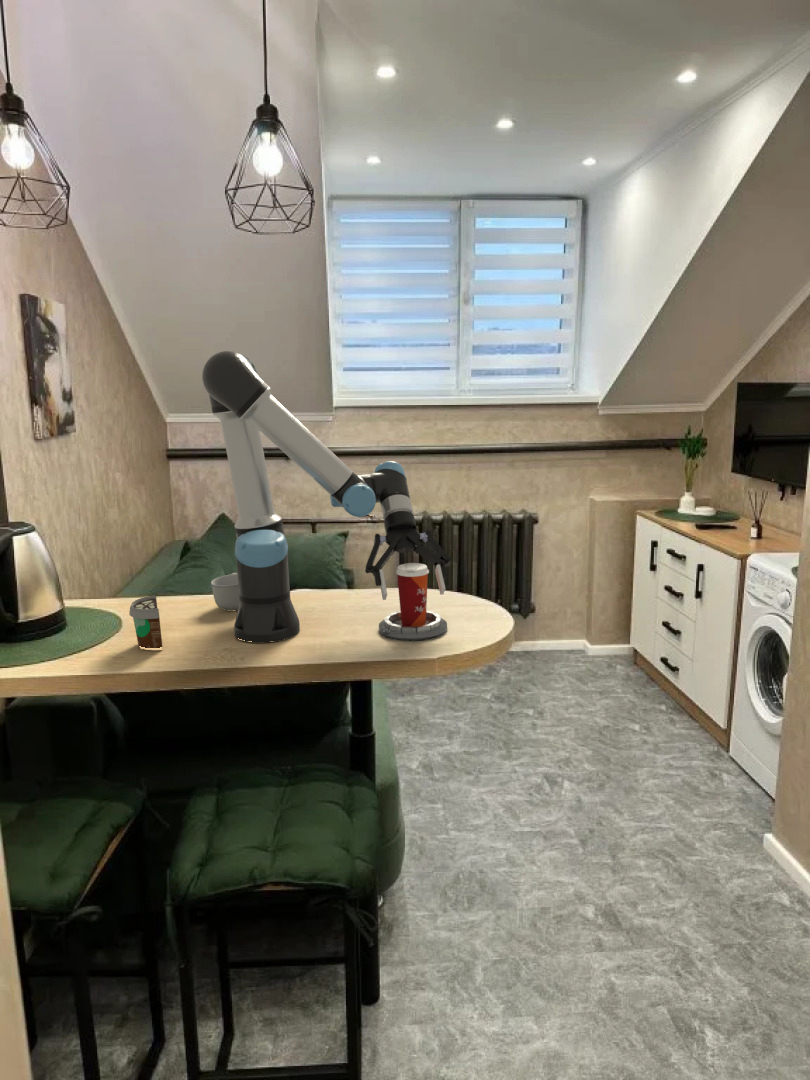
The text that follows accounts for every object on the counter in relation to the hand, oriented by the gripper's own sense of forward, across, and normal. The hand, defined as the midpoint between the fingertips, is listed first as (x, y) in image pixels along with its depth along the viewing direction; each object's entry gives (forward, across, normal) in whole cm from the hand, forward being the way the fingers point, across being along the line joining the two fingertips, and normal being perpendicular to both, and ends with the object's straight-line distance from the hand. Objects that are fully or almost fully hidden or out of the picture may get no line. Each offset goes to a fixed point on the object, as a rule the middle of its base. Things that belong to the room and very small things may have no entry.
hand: (414, 594), depth 172 cm
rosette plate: (+5, 0, -8) cm, 9 cm away
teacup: (-18, +41, -31) cm, 54 cm away
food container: (0, +60, -13) cm, 62 cm away
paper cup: (+4, 0, -7) cm, 8 cm away
